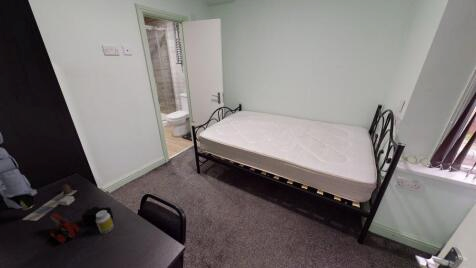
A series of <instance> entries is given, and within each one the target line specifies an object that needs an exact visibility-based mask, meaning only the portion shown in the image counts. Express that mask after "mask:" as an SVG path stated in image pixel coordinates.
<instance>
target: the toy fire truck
mask: <svg viewBox="0 0 476 268" xmlns="http://www.w3.org/2000/svg"><path fill="white" fill-rule="evenodd" d="M49 217H50V219H51V221H52V223H53V224H54V226H55V229H52V230H50V231H49V234H50V236H51V237H52V238H53V239H54V240H55V239H56V240H57V241H58V242H59V244H63V243H65V242H66V241H67V238H68V237H69V238H71V239H73V238H74V237H76V234H78V233H79V232H80V231H81V229H80V227H79V225H77V224H74V223H73V222H72V221H71V220H69V219H67V218H65V217H63V216H61V215H59V214H58V213H56V212H54V213H52V214H50V215H49Z"/></svg>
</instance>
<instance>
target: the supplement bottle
mask: <svg viewBox="0 0 476 268" xmlns="http://www.w3.org/2000/svg"><path fill="white" fill-rule="evenodd" d="M96 218H97V219H96V224H97V228H98V230H99V233H100V234H102V235H104V234H108V233H109V232H111V231H112V230H113V228H114V226H115V225H114V223H113V222H114V221H113V219H111V216H110V214H108V213H107V211H106V210H102V211H100V212H98V213H97V214H96Z"/></svg>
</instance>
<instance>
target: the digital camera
mask: <svg viewBox="0 0 476 268" xmlns="http://www.w3.org/2000/svg"><path fill="white" fill-rule="evenodd" d="M102 210H106V211H107V213H108V214H110V216H111V219H112V220H113V219H114V214H113V212H112V209H111V207H110V206H109V207H98V206H93V207H91V208H87V209H86V210H85V211H84V212H83V214H82V215H81V218H82V221H83V223H84V225H85V227H96V226H97V224H96V219H97V218H96V214H97V213H98V212H100V211H102ZM97 227H98V226H97Z"/></svg>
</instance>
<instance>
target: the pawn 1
mask: <svg viewBox="0 0 476 268" xmlns="http://www.w3.org/2000/svg"><path fill="white" fill-rule="evenodd" d="M20 204H21V206H22V211H26V210H27V211H28V210H30V209H32V208H33V207H34V206H35V204H34V205H32V206H31V207H27V206H26V205H25V203H24V202H22V201H21V200H20Z"/></svg>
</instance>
